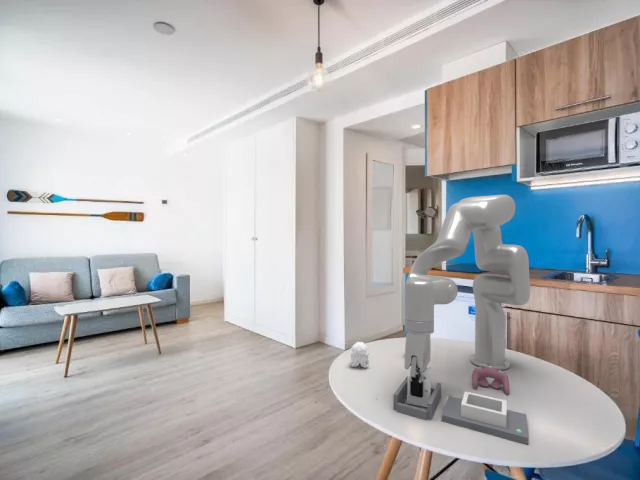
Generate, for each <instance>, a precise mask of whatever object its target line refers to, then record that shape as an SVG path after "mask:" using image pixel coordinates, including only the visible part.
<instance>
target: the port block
mask: <svg viewBox="0 0 640 480" xmlns="http://www.w3.org/2000/svg"><path fill="white" fill-rule="evenodd" d="M507 405H508V401H507V400H506V399H501V398H496V397H492V396H487V395H484V394H478V393H473V392H469V391H464V394H463V397H462V398H459V397H455V396H452V395H448V398H447V400H446V402H445V405H444V407H443V410H442V412H441V417H440V419H441V422H445V423H448V424H452V425H455V426H458V427H461V428H462V427H463V428H466V429H469V430H473V431H478V432H480V433H485V434H486V435H487V434H488V435H491V436H494V437H499V438H502V439H506V440H510V441H513V442H515V443H516V442H517V443H521V444H524V445H528V446H529V433H528V419H527V418H528V417H527V413H523V412H518V411H514V410H510V409H508V406H507Z"/></svg>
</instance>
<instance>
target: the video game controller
mask: <svg viewBox="0 0 640 480" xmlns="http://www.w3.org/2000/svg"><path fill="white" fill-rule="evenodd" d="M487 378H490V379H493V380H492V382H491V386H492V388H493V389H494V390H498V389H500V388H501V386H502V387H503V391H504V394H505V395H507V396H508V395H509V393H510V382H509V381H510V380H509V377H508V374H506V372H504V370H498V369H496V368H491V367H479V366H477V367H476V368H474V369H473V370H472V373H471V382H472V383H471V384H472V388H473V390H476V389H477V388H478V383H479V384H480V385H481V387H488V386H489V381H488V379H487Z"/></svg>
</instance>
